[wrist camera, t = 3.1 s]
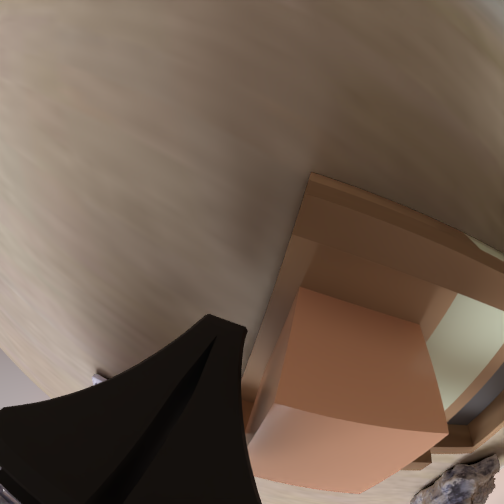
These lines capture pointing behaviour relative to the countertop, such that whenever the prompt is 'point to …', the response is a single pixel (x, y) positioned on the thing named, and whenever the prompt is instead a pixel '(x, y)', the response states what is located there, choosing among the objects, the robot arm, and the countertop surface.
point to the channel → (400, 298)
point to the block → (343, 398)
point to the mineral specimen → (462, 484)
